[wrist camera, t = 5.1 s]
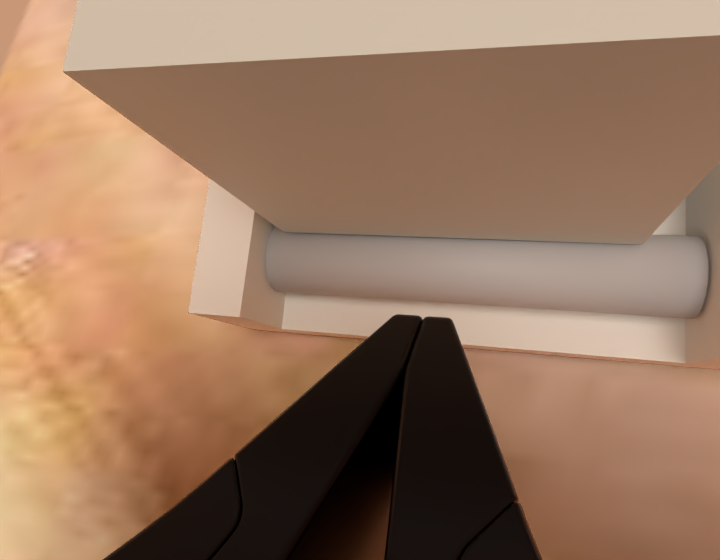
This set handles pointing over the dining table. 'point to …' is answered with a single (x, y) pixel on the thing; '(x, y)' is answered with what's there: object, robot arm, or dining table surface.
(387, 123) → the beige block
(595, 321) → the roller bed
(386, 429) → the robot arm
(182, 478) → the dining table surface
